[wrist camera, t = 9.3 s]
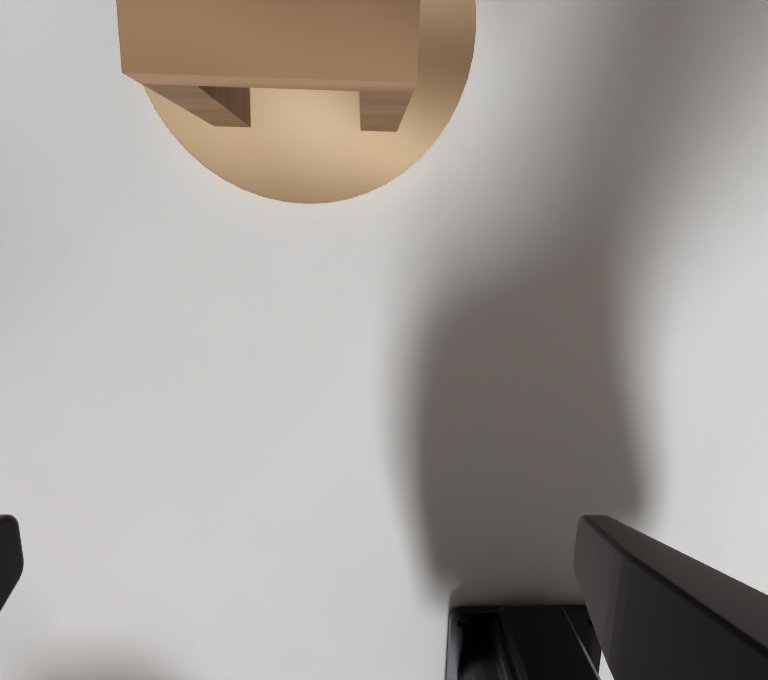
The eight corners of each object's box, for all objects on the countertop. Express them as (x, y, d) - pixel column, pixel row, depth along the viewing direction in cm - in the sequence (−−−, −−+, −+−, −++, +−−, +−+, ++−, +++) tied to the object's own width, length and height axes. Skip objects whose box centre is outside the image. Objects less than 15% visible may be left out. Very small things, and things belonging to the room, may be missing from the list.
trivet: (463, 206, 19) (466, 206, 19) (147, 200, 19) (141, 199, 18) (482, -160, 17) (486, -173, 16) (119, -178, 16) (110, -192, 16)
